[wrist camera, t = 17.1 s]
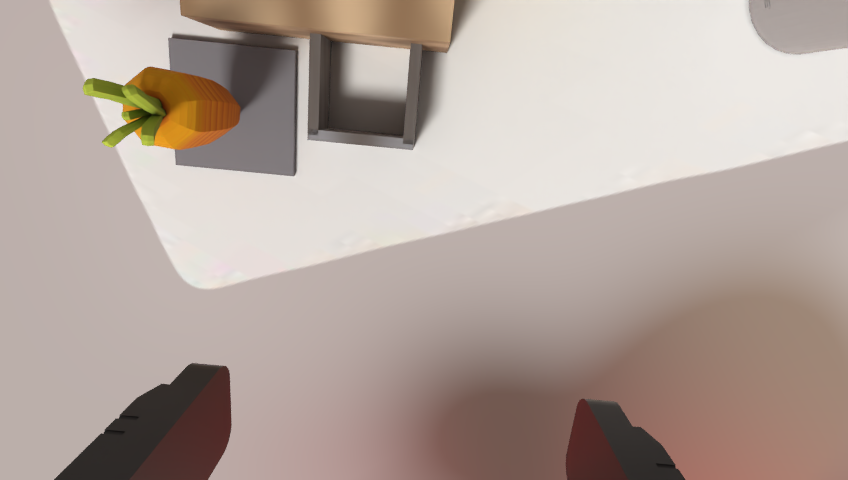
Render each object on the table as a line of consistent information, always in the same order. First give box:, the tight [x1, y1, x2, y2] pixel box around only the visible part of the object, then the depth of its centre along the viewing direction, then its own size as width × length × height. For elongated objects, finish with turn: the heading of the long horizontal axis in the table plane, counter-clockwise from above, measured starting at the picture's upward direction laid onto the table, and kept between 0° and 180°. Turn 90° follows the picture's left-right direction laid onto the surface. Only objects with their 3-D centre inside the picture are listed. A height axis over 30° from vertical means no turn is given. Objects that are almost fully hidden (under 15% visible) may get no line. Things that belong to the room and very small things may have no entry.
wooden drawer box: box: [180, 0, 454, 150], centre depth 33 cm, size 18×16×6 cm
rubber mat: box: [168, 38, 296, 176], centre depth 37 cm, size 10×10×1 cm
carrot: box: [83, 67, 241, 150], centre depth 30 cm, size 5×5×15 cm
